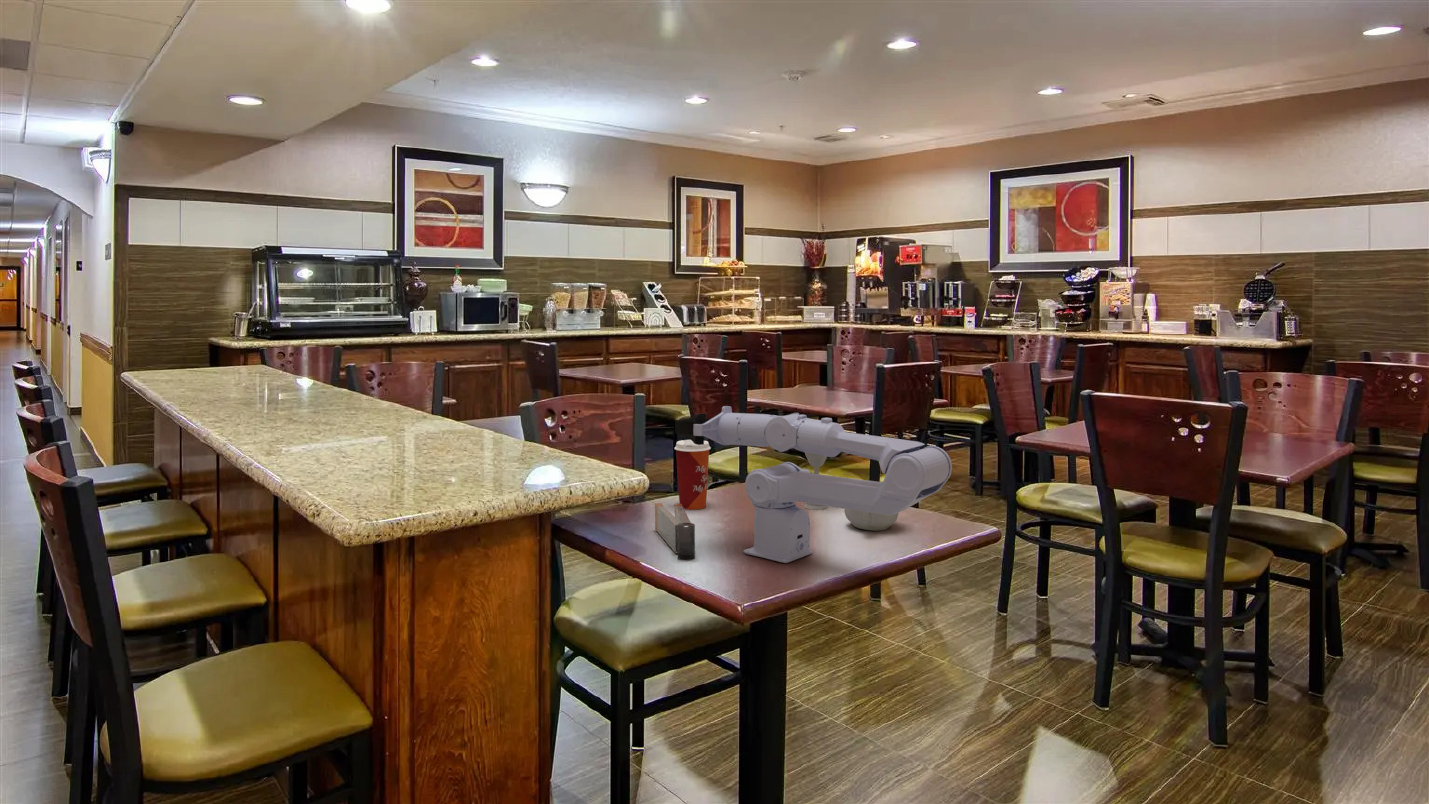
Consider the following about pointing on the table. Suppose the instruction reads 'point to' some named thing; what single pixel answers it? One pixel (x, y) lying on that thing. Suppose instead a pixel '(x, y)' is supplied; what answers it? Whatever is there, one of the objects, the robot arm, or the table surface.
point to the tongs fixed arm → (685, 534)
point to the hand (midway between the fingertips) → (690, 426)
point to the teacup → (870, 520)
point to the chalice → (816, 462)
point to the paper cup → (692, 473)
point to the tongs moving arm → (666, 526)
